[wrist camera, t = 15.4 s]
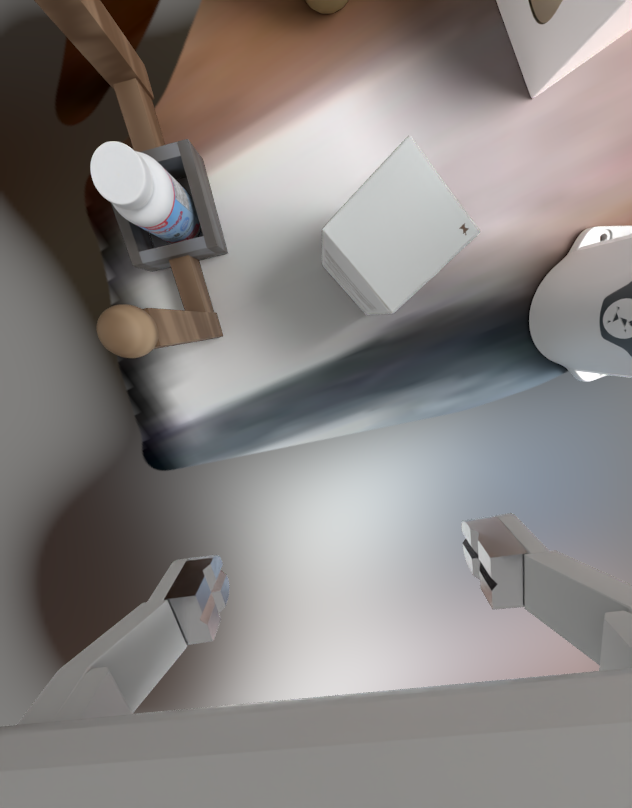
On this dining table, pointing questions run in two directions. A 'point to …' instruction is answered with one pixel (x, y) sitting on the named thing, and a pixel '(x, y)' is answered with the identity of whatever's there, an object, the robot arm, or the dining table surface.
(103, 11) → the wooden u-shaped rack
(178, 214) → the pill bottle
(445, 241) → the supplement box
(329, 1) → the squeeze bottle
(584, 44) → the gable box
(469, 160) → the dining table surface
